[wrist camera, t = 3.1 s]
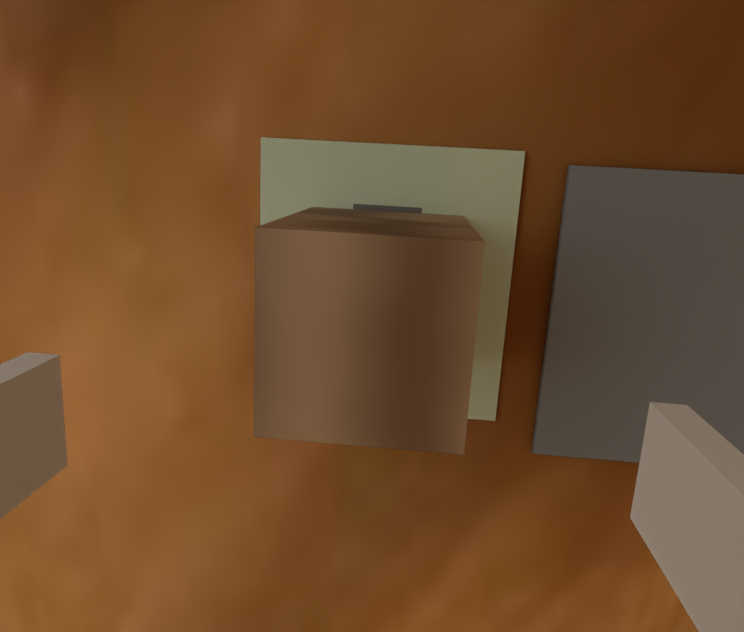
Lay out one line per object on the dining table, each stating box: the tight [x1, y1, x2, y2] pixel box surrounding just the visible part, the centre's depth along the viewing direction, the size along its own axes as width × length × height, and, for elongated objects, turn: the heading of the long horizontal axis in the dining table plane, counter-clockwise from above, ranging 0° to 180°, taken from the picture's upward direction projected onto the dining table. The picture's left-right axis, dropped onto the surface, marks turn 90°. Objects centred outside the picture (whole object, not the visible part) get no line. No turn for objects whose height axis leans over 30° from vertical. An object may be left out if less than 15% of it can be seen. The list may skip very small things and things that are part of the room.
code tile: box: [260, 137, 525, 421], centre depth 29 cm, size 12×13×1 cm
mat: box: [532, 165, 744, 463], centre depth 28 cm, size 12×14×1 cm
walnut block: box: [254, 207, 485, 455], centre depth 24 cm, size 7×7×10 cm
